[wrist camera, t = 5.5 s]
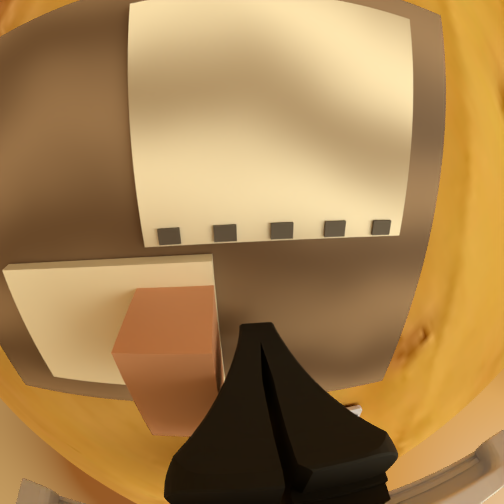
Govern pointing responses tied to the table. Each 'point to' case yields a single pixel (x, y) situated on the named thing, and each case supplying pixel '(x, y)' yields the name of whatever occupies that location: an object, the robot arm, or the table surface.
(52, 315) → the stub
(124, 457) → the table surface
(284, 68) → the board
